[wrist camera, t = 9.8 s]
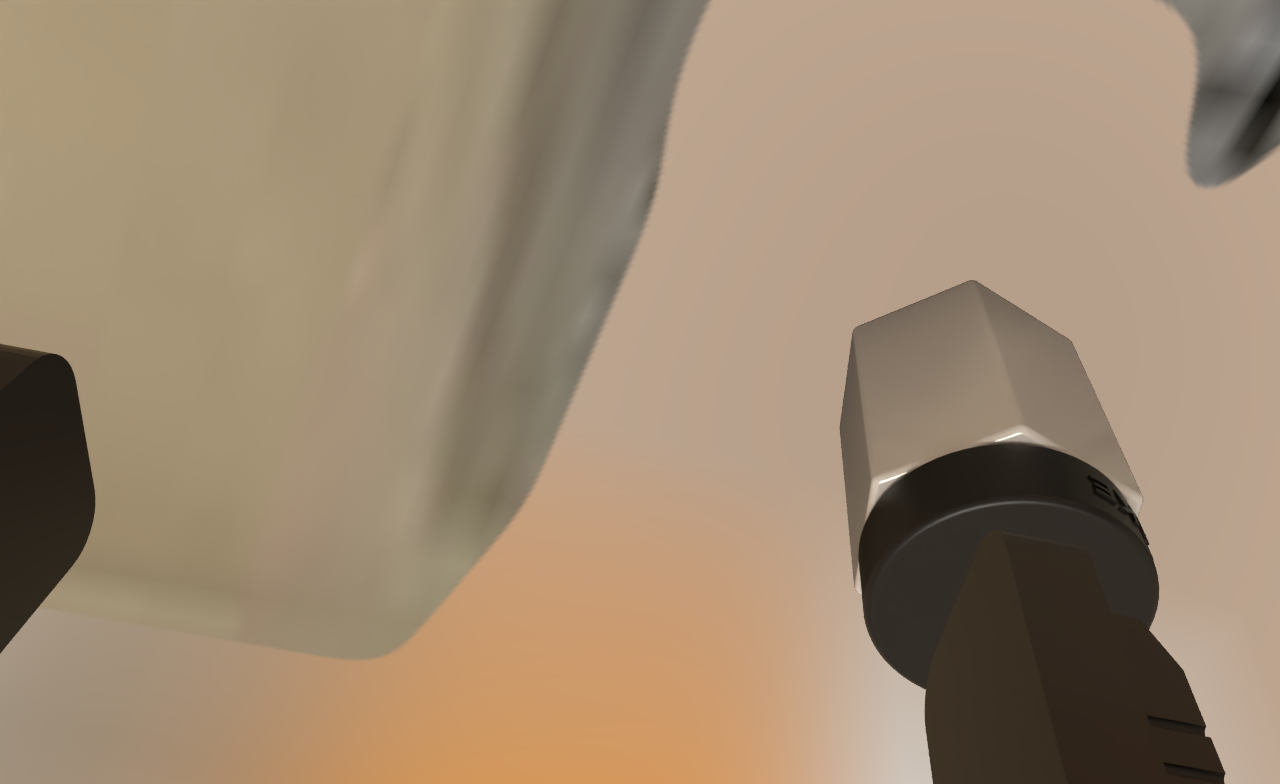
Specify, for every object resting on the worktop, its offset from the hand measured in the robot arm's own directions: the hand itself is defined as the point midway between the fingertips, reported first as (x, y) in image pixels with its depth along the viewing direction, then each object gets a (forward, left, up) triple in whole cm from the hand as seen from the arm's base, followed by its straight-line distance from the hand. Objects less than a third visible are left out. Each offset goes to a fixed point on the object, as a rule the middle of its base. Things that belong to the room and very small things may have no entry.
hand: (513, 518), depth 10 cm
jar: (-12, +14, -28) cm, 34 cm away
